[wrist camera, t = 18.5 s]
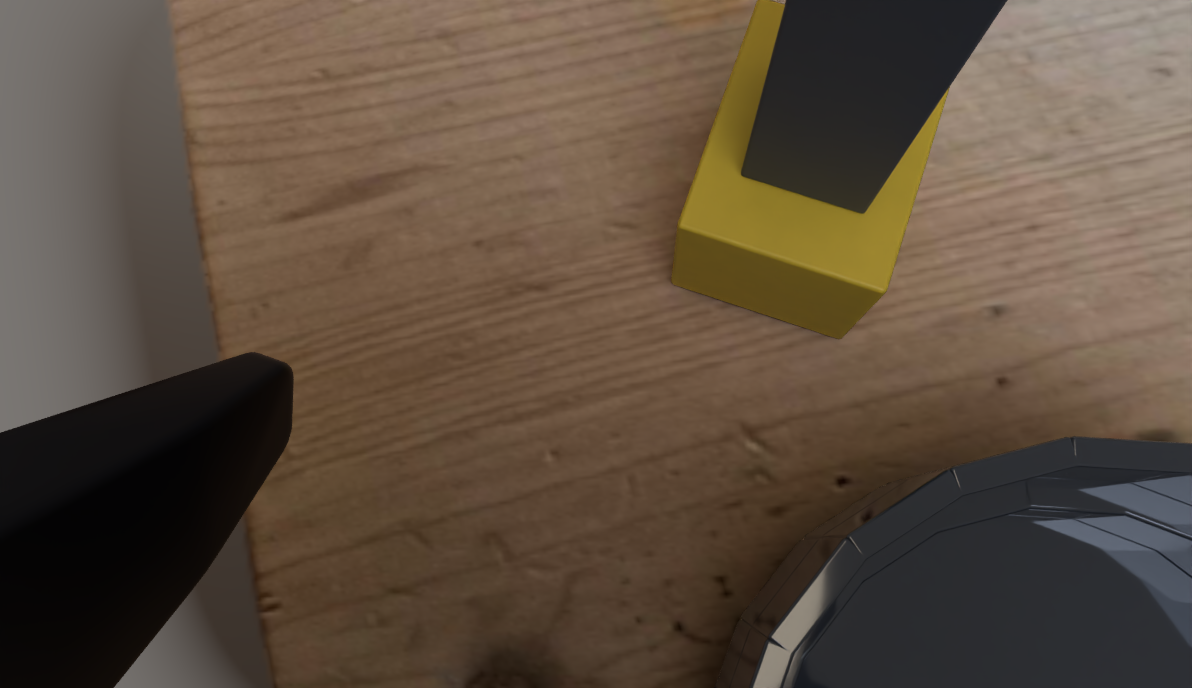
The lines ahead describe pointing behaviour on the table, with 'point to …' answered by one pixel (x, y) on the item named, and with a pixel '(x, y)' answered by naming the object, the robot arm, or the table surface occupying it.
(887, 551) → the bowl
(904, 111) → the sponge wand
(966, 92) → the table surface
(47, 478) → the robot arm
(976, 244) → the table surface
